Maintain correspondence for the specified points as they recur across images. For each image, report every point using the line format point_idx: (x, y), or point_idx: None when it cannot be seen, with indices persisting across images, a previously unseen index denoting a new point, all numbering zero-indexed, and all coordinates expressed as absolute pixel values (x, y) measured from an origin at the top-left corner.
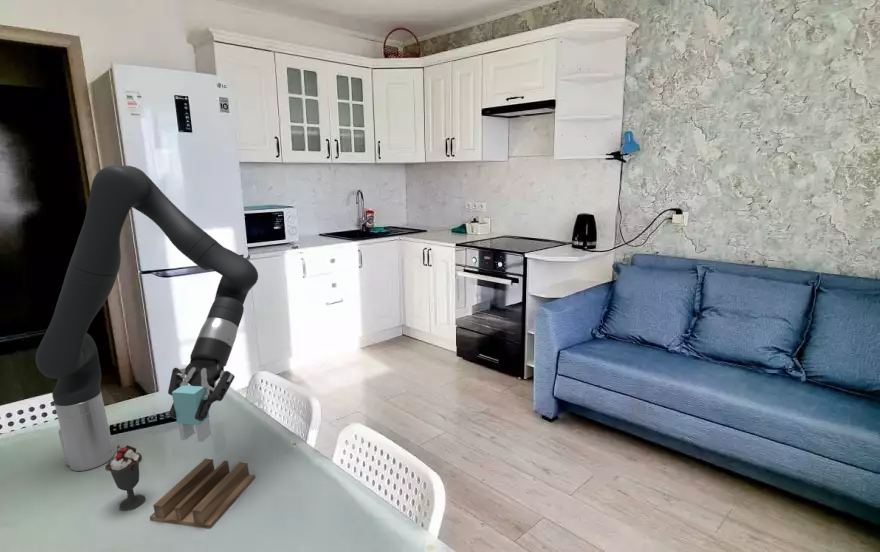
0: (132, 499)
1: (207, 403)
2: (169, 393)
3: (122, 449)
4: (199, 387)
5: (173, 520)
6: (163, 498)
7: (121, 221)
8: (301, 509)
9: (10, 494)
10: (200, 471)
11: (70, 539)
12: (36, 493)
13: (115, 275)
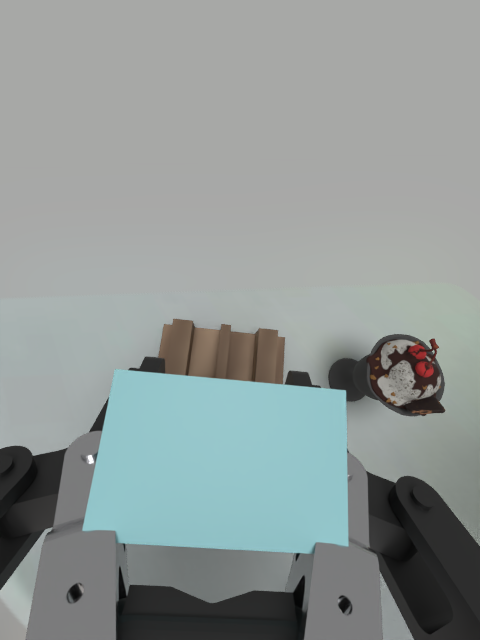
0: (348, 374)
1: (92, 428)
2: (415, 483)
3: (425, 364)
4: (128, 512)
5: (236, 332)
6: (271, 349)
7: None
8: (3, 383)
9: None
10: None
11: (375, 294)
12: None
13: None
